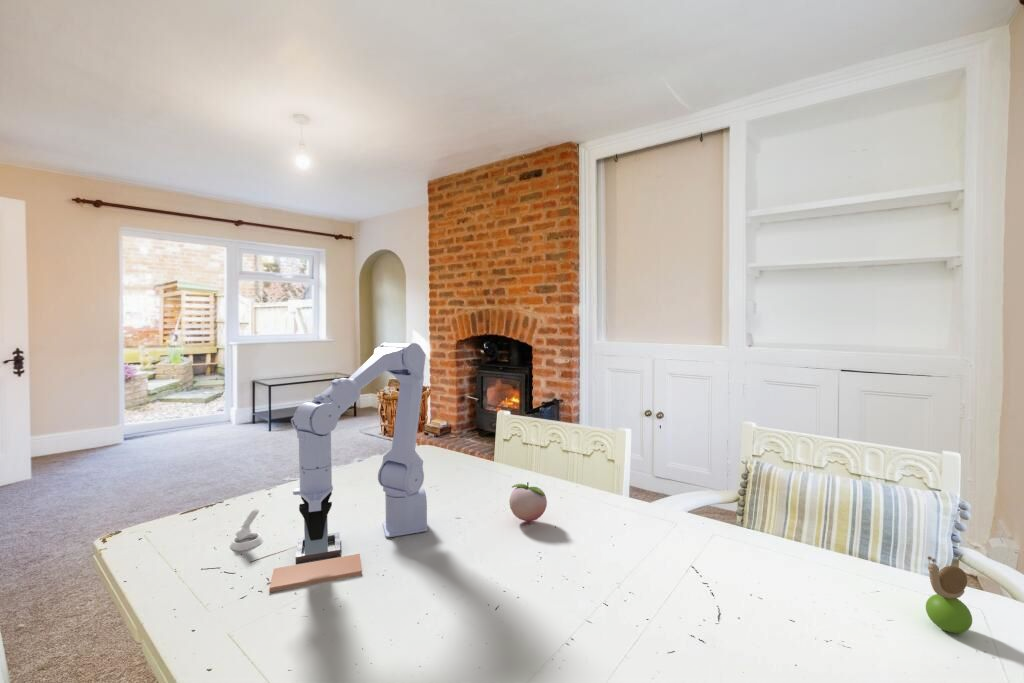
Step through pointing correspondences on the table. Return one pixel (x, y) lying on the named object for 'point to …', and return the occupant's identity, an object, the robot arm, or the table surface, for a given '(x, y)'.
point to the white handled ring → (246, 534)
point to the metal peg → (316, 542)
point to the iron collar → (320, 556)
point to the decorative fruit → (527, 502)
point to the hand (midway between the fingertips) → (316, 533)
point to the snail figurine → (948, 599)
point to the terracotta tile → (315, 572)
